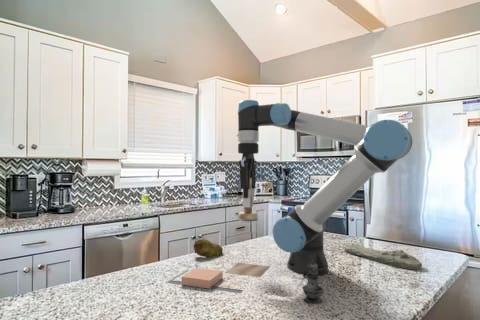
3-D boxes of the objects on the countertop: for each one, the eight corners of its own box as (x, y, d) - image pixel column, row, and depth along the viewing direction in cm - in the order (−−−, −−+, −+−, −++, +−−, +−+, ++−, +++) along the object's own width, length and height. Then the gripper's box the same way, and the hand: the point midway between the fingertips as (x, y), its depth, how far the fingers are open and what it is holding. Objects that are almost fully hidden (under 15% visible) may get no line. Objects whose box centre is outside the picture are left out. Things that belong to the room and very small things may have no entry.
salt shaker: (300, 297, 101) (300, 256, 102) (319, 296, 102) (319, 256, 102) (305, 305, 96) (305, 262, 96) (326, 304, 96) (325, 262, 96)
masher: (259, 218, 127) (259, 177, 127) (254, 221, 120) (254, 178, 121) (242, 217, 129) (242, 177, 130) (235, 220, 123) (235, 177, 123)
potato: (225, 259, 141) (225, 240, 141) (194, 261, 138) (194, 241, 138) (221, 254, 149) (221, 236, 150) (192, 256, 146) (192, 237, 146)
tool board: (270, 268, 128) (270, 266, 128) (260, 279, 116) (260, 276, 116) (238, 265, 133) (238, 262, 133) (225, 275, 121) (225, 272, 121)
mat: (254, 280, 115) (254, 278, 115) (240, 295, 102) (240, 293, 102) (187, 272, 124) (187, 270, 124) (166, 284, 111) (166, 282, 111)
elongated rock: (353, 252, 159) (339, 256, 154) (352, 241, 160) (338, 244, 154) (428, 267, 130) (413, 273, 125) (427, 253, 130) (412, 258, 125)
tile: (222, 271, 115) (209, 280, 105) (222, 279, 115) (209, 289, 105) (196, 267, 118) (181, 276, 109) (196, 275, 118) (181, 285, 109)
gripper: (245, 144, 134) (245, 203, 134) (230, 141, 119) (230, 208, 119) (264, 143, 131) (263, 204, 131) (251, 141, 117) (251, 209, 116)
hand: (248, 206), depth 125 cm, fingers closed on masher, 3 cm apart
